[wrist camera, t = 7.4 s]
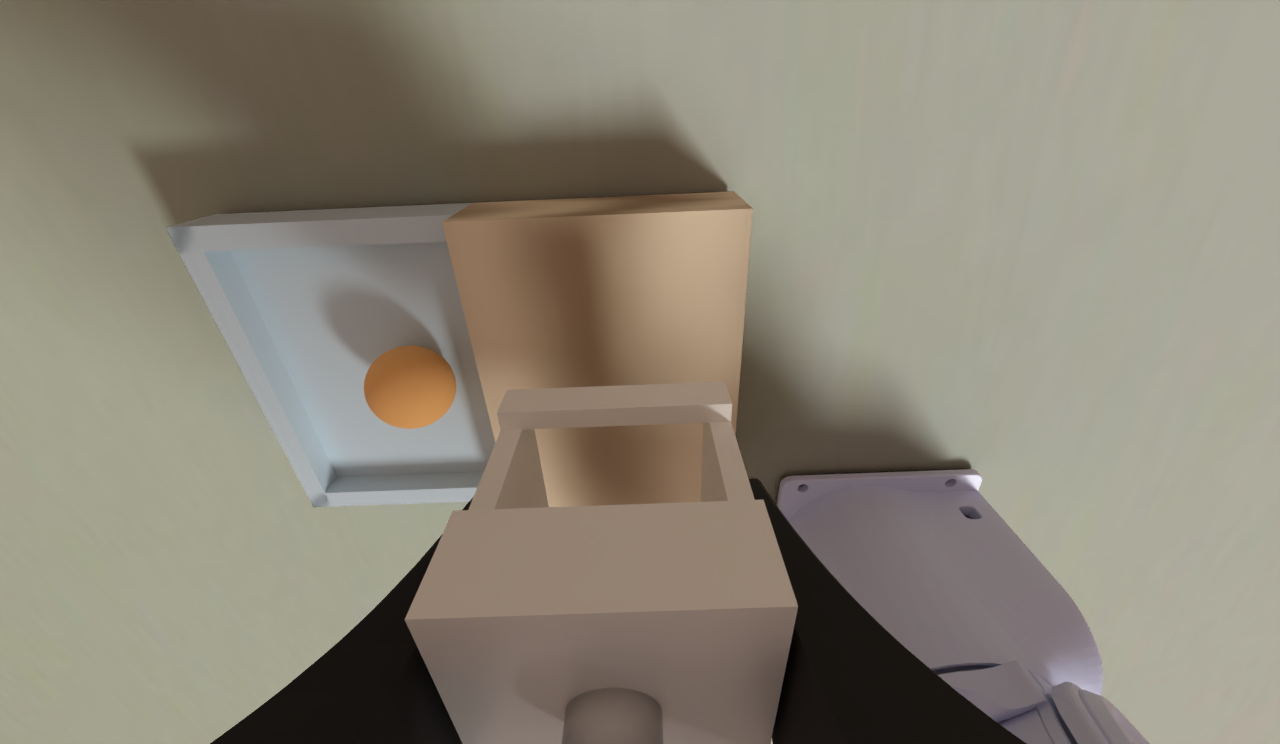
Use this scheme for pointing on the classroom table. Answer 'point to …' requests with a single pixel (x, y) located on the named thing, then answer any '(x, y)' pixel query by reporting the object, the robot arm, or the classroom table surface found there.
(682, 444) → the board
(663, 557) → the small drawer with knob
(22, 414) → the classroom table surface
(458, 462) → the tray
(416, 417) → the ball
